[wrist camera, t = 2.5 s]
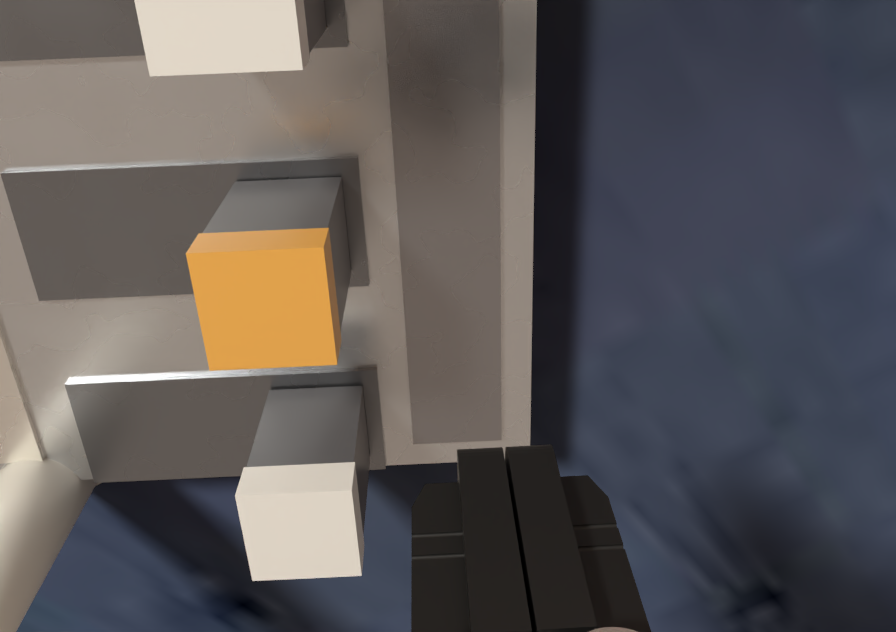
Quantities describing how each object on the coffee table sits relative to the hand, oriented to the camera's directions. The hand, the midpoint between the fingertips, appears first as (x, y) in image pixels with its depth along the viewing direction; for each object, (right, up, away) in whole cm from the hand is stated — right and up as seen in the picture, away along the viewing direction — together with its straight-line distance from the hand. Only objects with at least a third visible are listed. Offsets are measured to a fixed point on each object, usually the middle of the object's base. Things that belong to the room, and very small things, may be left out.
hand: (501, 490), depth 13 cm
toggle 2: (-5, +5, +11) cm, 13 cm away
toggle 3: (-5, -1, +14) cm, 15 cm away
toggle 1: (-6, +11, +7) cm, 15 cm away
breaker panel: (-10, +7, +14) cm, 18 cm away
